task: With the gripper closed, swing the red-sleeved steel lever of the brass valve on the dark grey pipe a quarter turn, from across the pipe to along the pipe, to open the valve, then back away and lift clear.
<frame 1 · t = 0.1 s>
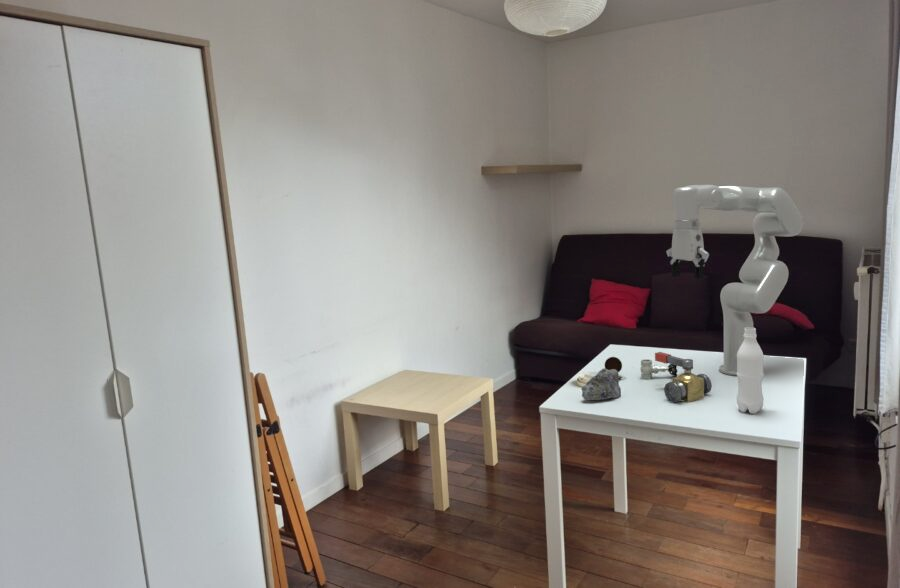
hand: (687, 277, 216), 37 cm above the table, tool pointing down, fingers open, 9 cm apart
water bottle: (750, 411, 195), on the table
valve: (658, 378, 232), on the table
mineral rock: (601, 398, 216), on the table
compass: (615, 379, 234), on the table
valve lever: (674, 360, 213), point 11 cm above the table, hinge at 0.0°
pipe valve: (688, 397, 210), on the table
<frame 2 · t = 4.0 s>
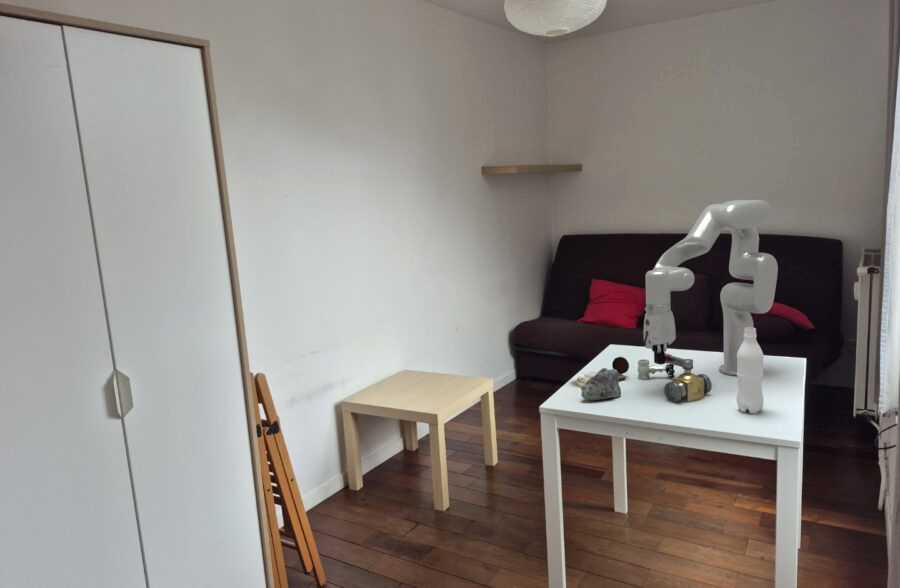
hand: (659, 363, 215), 10 cm above the table, tool pointing down, fingers closed
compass: (619, 379, 234), on the table
valve lever: (674, 360, 213), point 11 cm above the table, hinge at 0.5°, touching gripper
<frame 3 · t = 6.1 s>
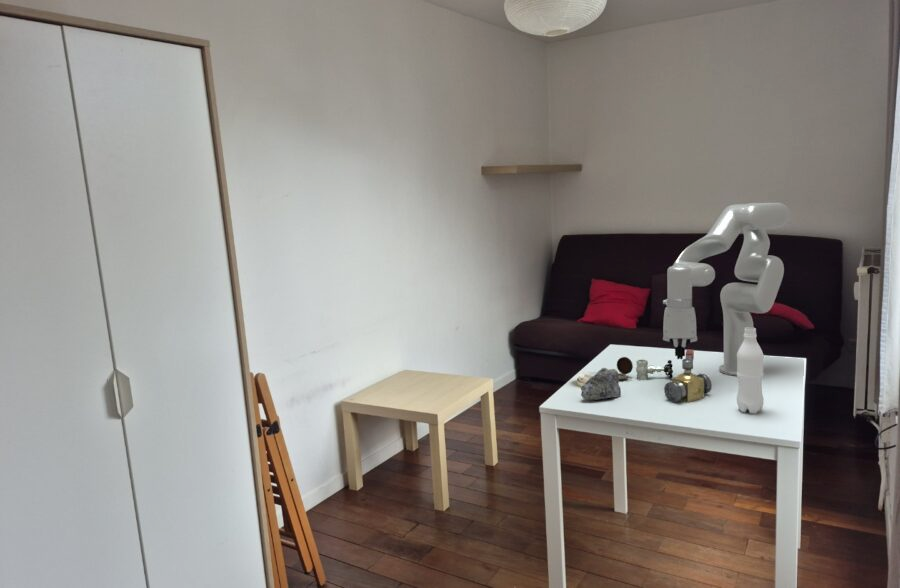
hand: (680, 358, 217), 11 cm above the table, tool pointing down, fingers closed
valve lever: (688, 359, 213), point 11 cm above the table, hinge at 50.4°, touching gripper
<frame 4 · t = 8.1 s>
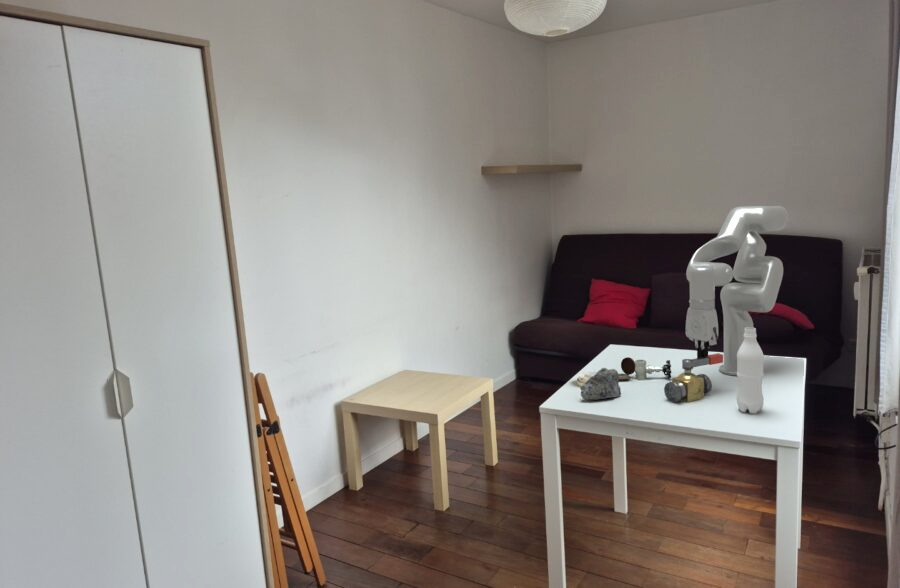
hand: (702, 359, 213), 10 cm above the table, tool pointing down, fingers closed
valve lever: (702, 361, 210), point 11 cm above the table, hinge at 97.0°, touching gripper
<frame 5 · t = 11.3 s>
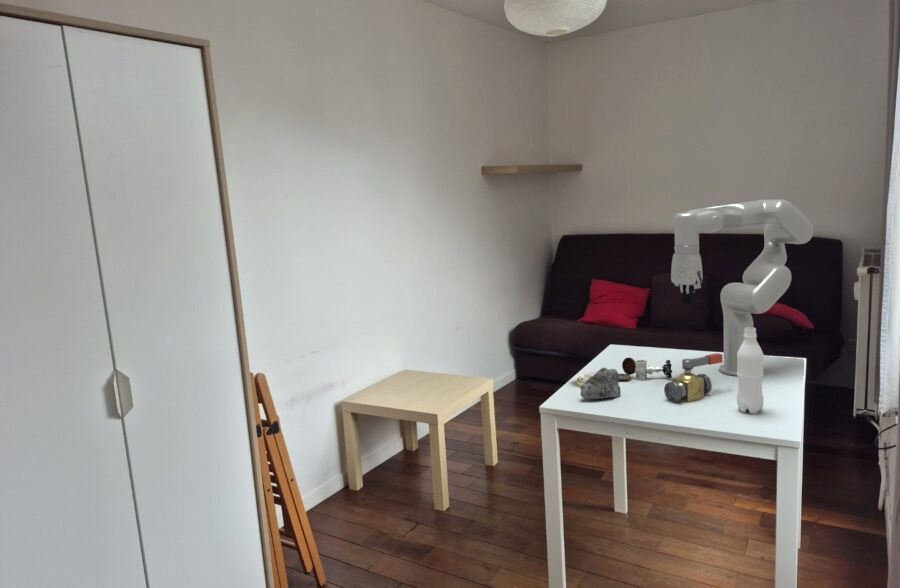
hand: (687, 304, 220), 27 cm above the table, tool pointing down, fingers closed
valve: (652, 379, 232), on the table, touching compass
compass: (625, 380, 233), on the table, touching valve
valve lever: (701, 361, 210), point 11 cm above the table, hinge at 95.8°
everything else where it was.
at the end: valve lever at +96° (first picture: +0°); valve moved 2.2 cm from its start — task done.
